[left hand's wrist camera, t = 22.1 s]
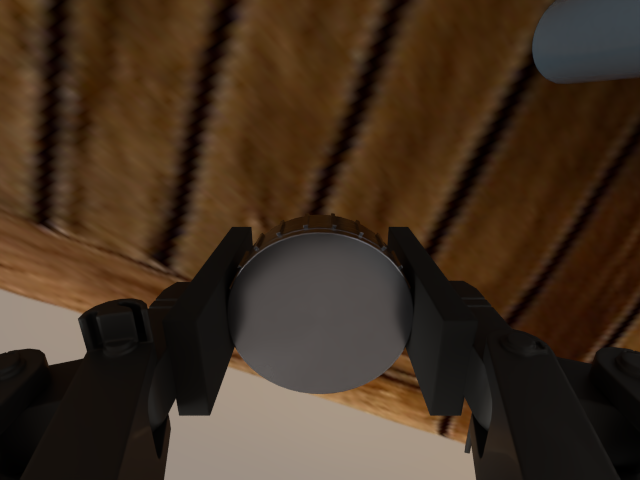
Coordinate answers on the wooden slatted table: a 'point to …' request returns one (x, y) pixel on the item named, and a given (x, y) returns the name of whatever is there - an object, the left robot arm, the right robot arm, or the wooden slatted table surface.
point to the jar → (588, 41)
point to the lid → (320, 305)
